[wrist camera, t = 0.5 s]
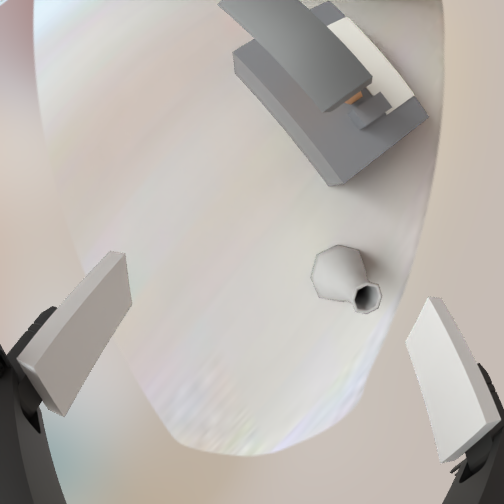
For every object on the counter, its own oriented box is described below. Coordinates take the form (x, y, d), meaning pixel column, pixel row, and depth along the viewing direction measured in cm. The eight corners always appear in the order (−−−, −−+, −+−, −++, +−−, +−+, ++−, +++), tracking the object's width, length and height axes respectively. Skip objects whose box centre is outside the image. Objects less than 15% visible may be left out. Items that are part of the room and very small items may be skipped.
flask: (364, 241, 36) (401, 256, 26) (365, 296, 37) (398, 326, 28) (308, 247, 36) (329, 265, 26) (311, 304, 37) (331, 339, 28)
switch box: (328, 186, 35) (350, 183, 27) (234, 73, 32) (231, 43, 24) (405, 126, 34) (438, 113, 26) (319, 24, 31) (333, -9, 23)
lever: (350, 111, 27) (322, 112, 11) (306, 60, 26) (217, 4, 10) (369, 97, 26) (372, 76, 10) (325, 46, 25) (258, -32, 9)
